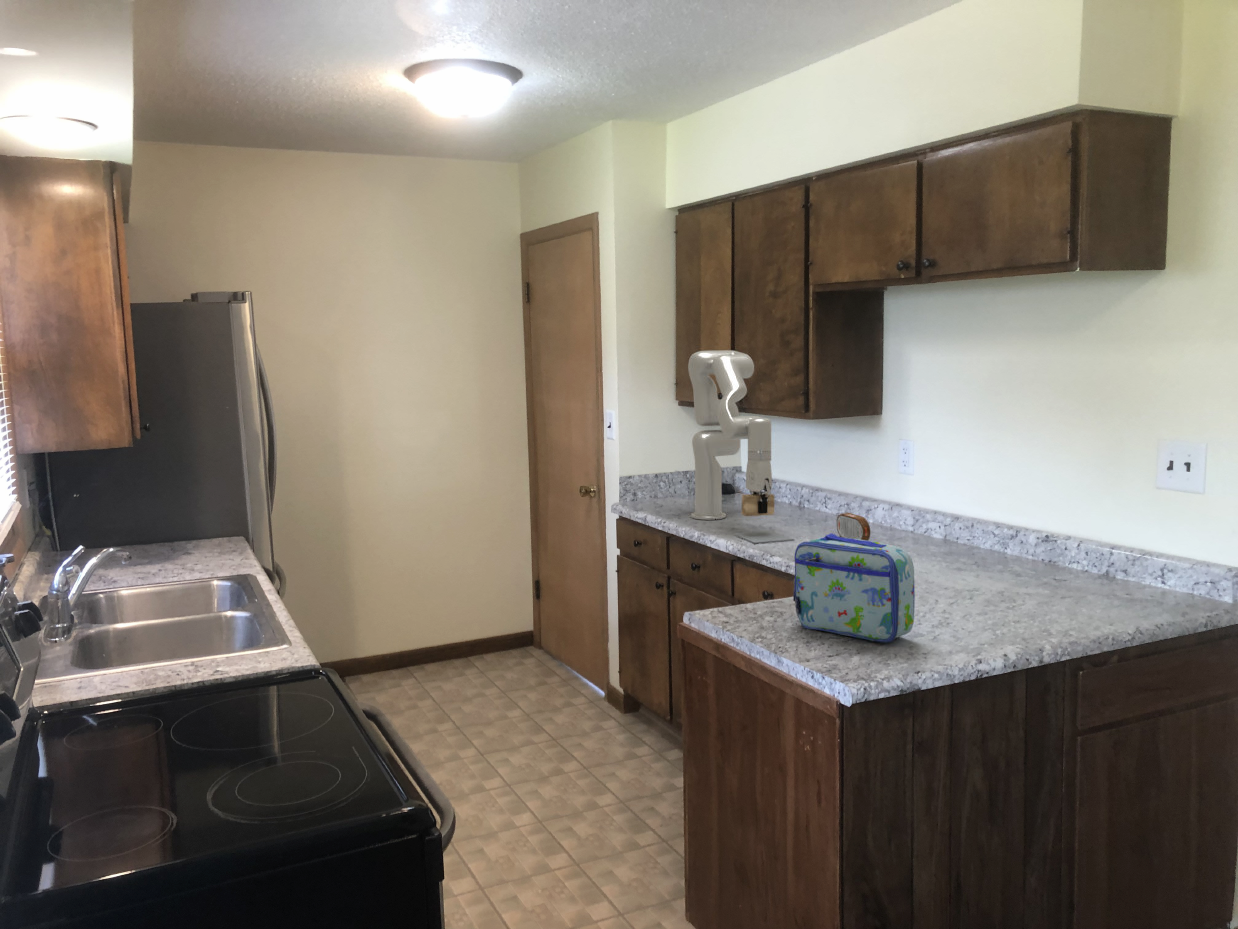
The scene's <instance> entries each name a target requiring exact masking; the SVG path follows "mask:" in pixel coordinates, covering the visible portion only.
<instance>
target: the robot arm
mask: <svg viewBox="0 0 1238 929" xmlns="http://www.w3.org/2000/svg"><path fill="white" fill-rule="evenodd" d="M687 366H688V367H687V368H688V369H687V370H688V375H689V379H690V382H691V385H692V390H693V391H692V392H693V405H694V406H693V407H694V417H695V422H696V424H697V425H699V426H701V427H720V429H706V430H700V431H697V432H696V433H695V434H694V435H693V436H692V441H691V446H692V450H693V457H694V458H693V459H694V487H695V488H694V490H695V491H694V492H695V493H694V499H695V502H694V504H695V505H694V510H695V511H694V512H691V514H690V517H691V518H692V519H696V520H703V521H704V520H706V521H708V520H709V521H712V520H713V521H714V520H715V519H716V520H721V519H725V518H726V517H727V514H726V513H725V512H723V511H722V510H723V508H722V501H723V500H722V498H723V496H722V493H723V492H722V491H723V490H722V477H723V476H722V474H723V472H722V466H721V465H720V463H719V461H718V460H717V459H716V457H726V456H727V457H728V456H734V455H736V454H737V453H738V452H739V451H740V448H741V440H747V461H746V469H745V470H746V471H745V473H746V474H745V488H746V489H747V490H748V491H749V493H750V494H759V501H758V513H759V514H763V513H767V501H768V497H769V496H770V495H771V494H772V487H773V475H772V474H773V472H772V463H771V462H772V422H771V420H770V418H766V417H761V416H758V415H748V416H747V415H746V416H745V415H743V416H742V415H741V416H740V415H739V412H740V411H739V409H738V406H737V404H736V403H737V402H739V401H741V400H742V399H743V398H744V397H745V396H746V395H747V393H748V389H747V386H746V382H745V380H744V379H749V378H751V377H752V376H753V374H754V371H755V363H754V361H753V359H752V358H751V356H749V354H747V353H744V352H740V351H737V350H729V349H728V350H727V349H726V350H724V349H723V350H700V351H696V352H695V353H693V354H691V356H690V357H689V360H688V365H687ZM711 375H714V377H715V380H716V382H717V385H716V383H715V381H714V380H713V378H712V377H711ZM717 386H718V387H719V390H720V393H721V396H722V397H721V399H719V398H718V388H717ZM762 494H763V495H762Z"/></svg>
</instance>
